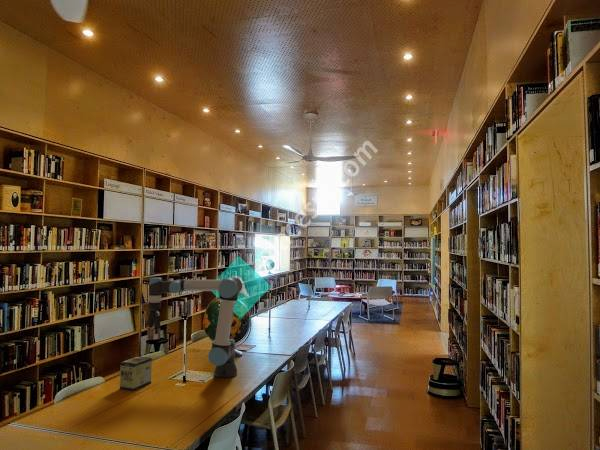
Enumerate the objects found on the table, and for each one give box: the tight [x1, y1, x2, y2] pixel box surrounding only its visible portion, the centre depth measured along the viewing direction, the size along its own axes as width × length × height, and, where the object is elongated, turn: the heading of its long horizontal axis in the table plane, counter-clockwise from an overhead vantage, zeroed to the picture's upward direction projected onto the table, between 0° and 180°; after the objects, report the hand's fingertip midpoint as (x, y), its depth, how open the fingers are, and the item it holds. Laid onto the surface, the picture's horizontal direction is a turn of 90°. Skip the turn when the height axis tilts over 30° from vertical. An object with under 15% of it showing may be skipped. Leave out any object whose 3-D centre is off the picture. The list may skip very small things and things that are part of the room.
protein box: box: [119, 356, 153, 392], centre depth 248 cm, size 10×16×16 cm
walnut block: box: [146, 326, 161, 341], centre depth 263 cm, size 6×6×7 cm
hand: (153, 338), depth 263 cm, fingers closed on walnut block, 6 cm apart
